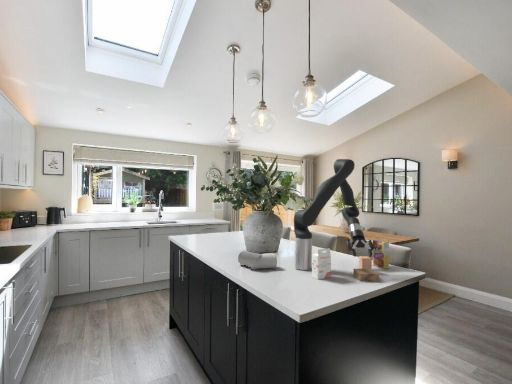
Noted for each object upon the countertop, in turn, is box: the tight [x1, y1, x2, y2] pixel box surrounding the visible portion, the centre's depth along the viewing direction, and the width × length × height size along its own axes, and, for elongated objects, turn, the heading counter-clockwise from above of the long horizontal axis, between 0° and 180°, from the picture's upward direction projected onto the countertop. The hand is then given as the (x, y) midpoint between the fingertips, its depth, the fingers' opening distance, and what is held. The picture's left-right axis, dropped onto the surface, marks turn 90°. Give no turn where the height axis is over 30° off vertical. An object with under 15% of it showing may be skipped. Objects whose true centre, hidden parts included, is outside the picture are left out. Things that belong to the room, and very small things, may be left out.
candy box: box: [372, 239, 390, 270], centre depth 154 cm, size 9×4×15 cm, turn 17°
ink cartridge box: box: [311, 248, 332, 280], centre depth 133 cm, size 9×5×15 cm, turn 117°
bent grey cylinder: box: [237, 250, 278, 270], centre depth 151 cm, size 18×11×20 cm
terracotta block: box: [358, 255, 373, 270], centre depth 143 cm, size 5×5×8 cm
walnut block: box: [352, 268, 380, 283], centre depth 131 cm, size 9×9×4 cm
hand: (362, 255), depth 147 cm, fingers open, 8 cm apart
